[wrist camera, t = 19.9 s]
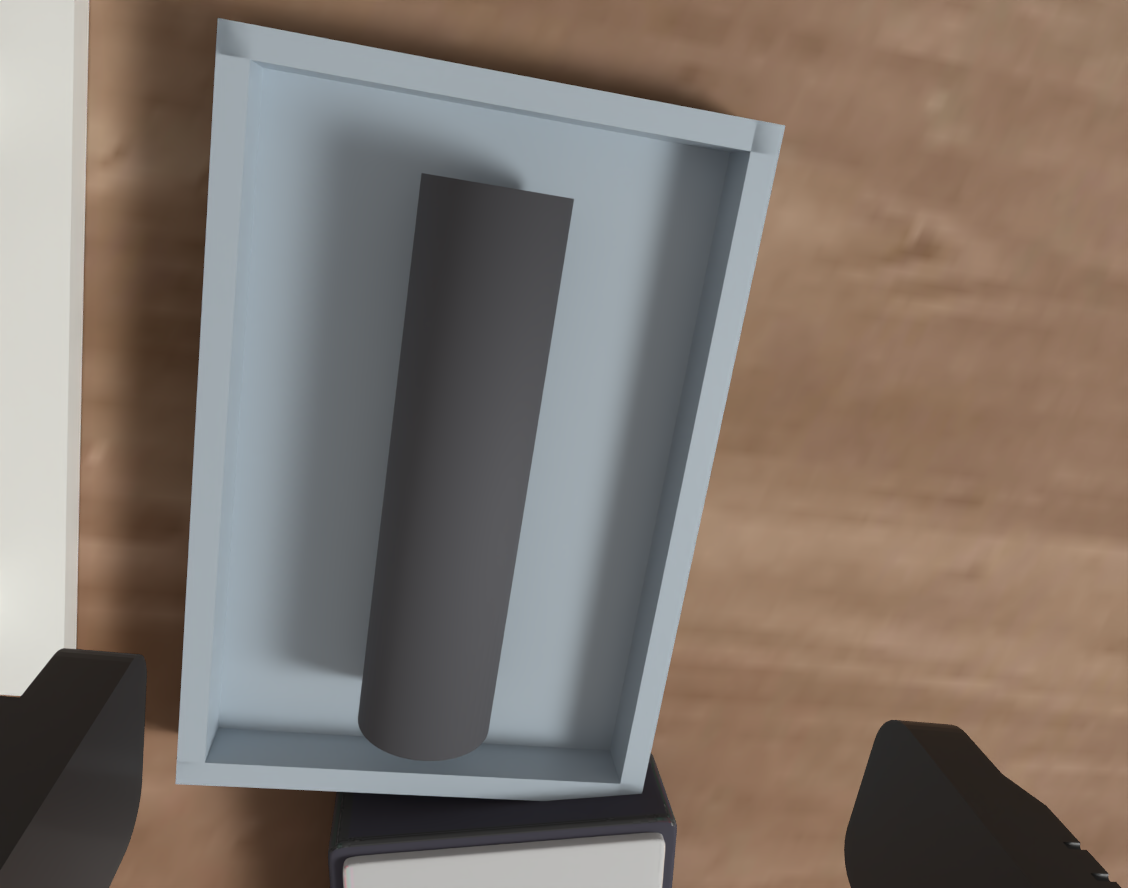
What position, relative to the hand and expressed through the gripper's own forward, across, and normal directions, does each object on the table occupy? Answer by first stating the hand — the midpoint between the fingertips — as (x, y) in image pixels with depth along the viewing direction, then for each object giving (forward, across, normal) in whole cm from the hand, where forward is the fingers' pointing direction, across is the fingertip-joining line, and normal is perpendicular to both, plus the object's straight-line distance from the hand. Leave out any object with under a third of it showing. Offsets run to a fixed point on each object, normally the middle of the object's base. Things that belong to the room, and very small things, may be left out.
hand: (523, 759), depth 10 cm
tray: (+19, 0, +3) cm, 19 cm away
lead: (+18, 0, +2) cm, 18 cm away
